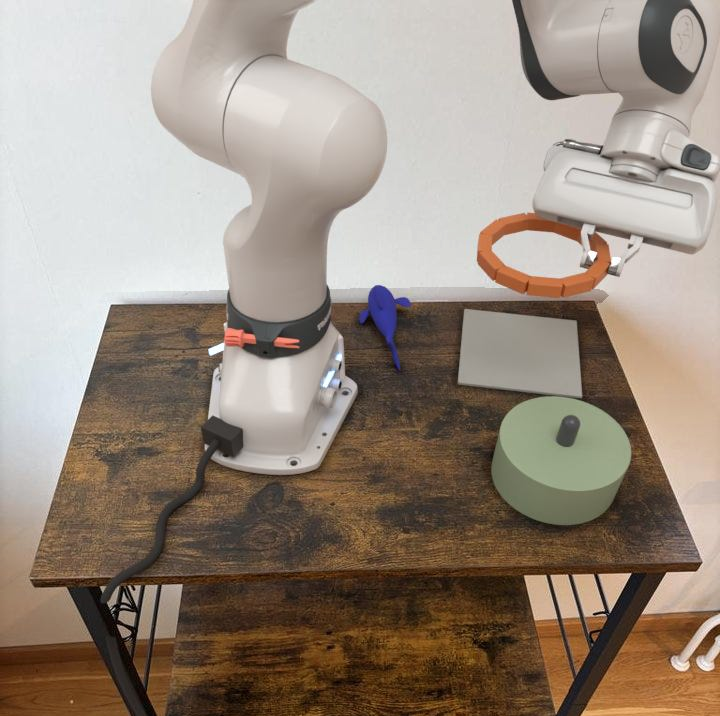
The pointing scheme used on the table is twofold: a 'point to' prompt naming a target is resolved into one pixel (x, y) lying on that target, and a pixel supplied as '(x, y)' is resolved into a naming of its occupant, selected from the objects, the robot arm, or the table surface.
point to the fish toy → (384, 314)
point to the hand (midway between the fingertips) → (599, 271)
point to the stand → (559, 460)
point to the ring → (533, 283)
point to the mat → (520, 353)
